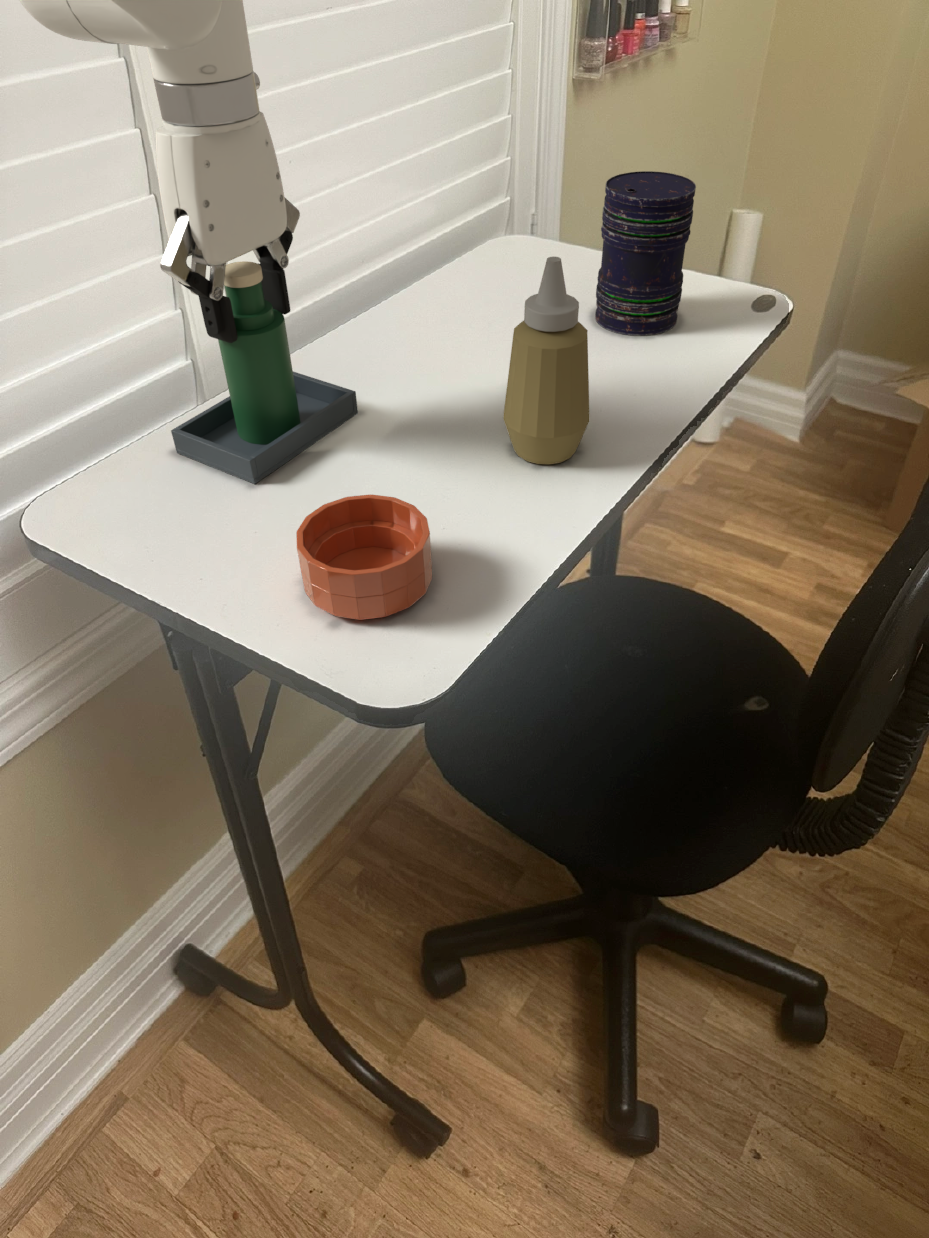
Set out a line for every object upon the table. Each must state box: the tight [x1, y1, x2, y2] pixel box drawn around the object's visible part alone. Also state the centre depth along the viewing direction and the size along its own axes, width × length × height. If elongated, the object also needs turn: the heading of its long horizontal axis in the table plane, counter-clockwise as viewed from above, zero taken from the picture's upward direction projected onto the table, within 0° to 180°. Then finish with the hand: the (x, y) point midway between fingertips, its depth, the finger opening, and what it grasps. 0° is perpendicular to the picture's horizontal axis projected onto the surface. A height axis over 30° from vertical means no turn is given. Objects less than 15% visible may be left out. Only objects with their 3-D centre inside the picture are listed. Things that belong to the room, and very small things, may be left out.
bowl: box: [296, 494, 433, 621], centre depth 70 cm, size 10×10×5 cm
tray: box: [170, 371, 359, 485], centre depth 89 cm, size 15×10×2 cm
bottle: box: [217, 260, 301, 445], centre depth 84 cm, size 6×6×16 cm
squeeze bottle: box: [502, 256, 590, 465], centre depth 80 cm, size 8×8×18 cm
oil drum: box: [594, 170, 697, 337], centre depth 103 cm, size 10×10×15 cm
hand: (249, 322), depth 82 cm, fingers closed on bottle, 6 cm apart
